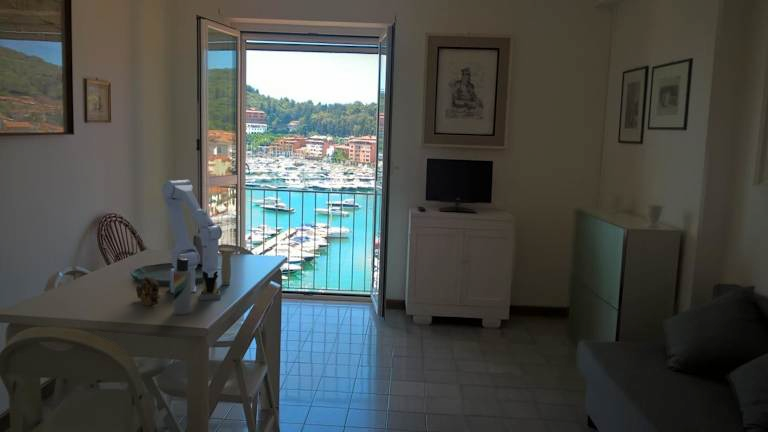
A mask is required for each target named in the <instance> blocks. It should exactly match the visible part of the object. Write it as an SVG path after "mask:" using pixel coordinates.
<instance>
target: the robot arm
mask: <svg viewBox="0 0 768 432" xmlns="http://www.w3.org/2000/svg"><path fill="white" fill-rule="evenodd" d="M161 191H162V195H163V200H164V203H165V206H166V211H167V214H168V215H167V216H168V219H169V222H170V227H171V228H170V229H171V232H172V235H173V241H174V245H175V246H174V247H173V248H172V250H171V251H170V255H171V258H170V259H171V264H172V267H173V268H170V282H169V288H170V293H171V294H174V271H175V270H177V259H178V257H187V258H188V270H190V271H191V293H196V292H197V286H196V269H197V268H198V266H199V265H198V264H199V262H200V256H199V253H198V252H197V250H196V247H195V246H194V245H193V243H191V242H190V238H189V234H188V230H187V226H186V222H185V218H184V213H183V210H182V203H184V204H185V205H186V206H187V207H188V209H189V210H190V211H191V213H192V216H191V218H192V220H193V222H194V223H195V225H196V226H197V228H198V230H199V231H200V232H198V233H199V234H200V238H201V243H202V245H203V265H202V267H201V271H202V278H203V280H205V283H206V289H207V293H211V292H213V290H214V285H215V282H216V280H218V277H219V275H218V271H221V267H222V266H219V240H221V238H222V236H223V231H222V227H221V226H220V225H219V224H217V223H216V222H214V221H213V220H212V219H211V217H210V216H209V214H208V212H207V211H206V210H205V209H202V208H201V206H200V204H199V202H198V200H197V199H196V196H195V194H194V193H193V192H194V187H193V185H192V183H191V181H190V180H189V179H186V178H185V179H177V180H176V179H175V180H169V179H168V180H165V181H164V183H163V185H162V187H161Z"/></svg>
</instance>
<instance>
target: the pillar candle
mask: <svg viewBox="0 0 768 432" xmlns="http://www.w3.org/2000/svg"><path fill="white" fill-rule="evenodd" d="M199 233H200V232H195V233H193V243H192V245H194V246H195V247H196V250H197V252H198V253H199V256H200V262H199V264H201V265H202V266H203V245H202V243H201V238H200V234H199ZM201 265H200V266H201Z"/></svg>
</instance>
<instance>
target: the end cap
mask: <svg viewBox="0 0 768 432" xmlns="http://www.w3.org/2000/svg"><path fill="white" fill-rule="evenodd" d="M203 300H204V301H205V300H207V301H209V300H210V301H211V300H221V291H220V290H218V289H217V294H203V290H199V301H203Z"/></svg>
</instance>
